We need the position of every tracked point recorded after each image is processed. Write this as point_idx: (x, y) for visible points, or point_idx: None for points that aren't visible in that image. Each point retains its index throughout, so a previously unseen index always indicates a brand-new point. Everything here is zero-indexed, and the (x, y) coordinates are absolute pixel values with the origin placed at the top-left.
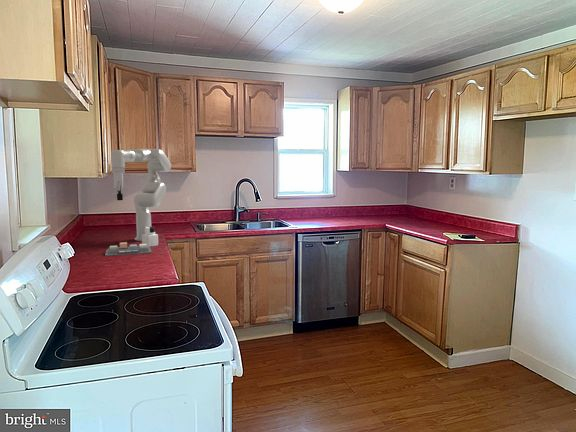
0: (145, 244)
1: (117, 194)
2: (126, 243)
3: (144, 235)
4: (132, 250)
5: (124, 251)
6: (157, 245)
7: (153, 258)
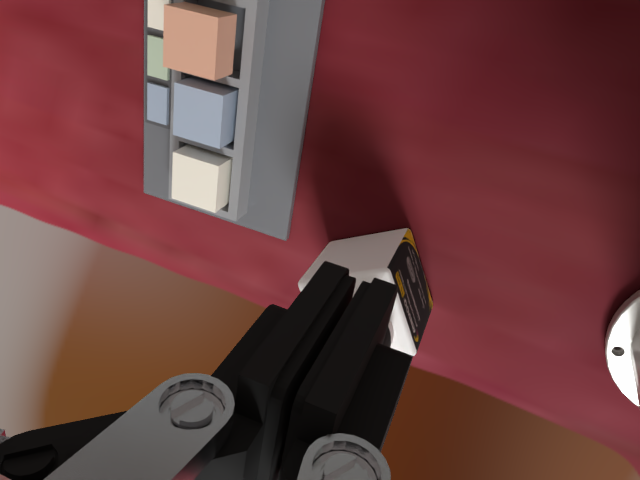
0: (190, 198)
1: (246, 376)
2: (165, 62)
3: None
4: (160, 86)
5: (148, 25)
6: None
7: (18, 148)
